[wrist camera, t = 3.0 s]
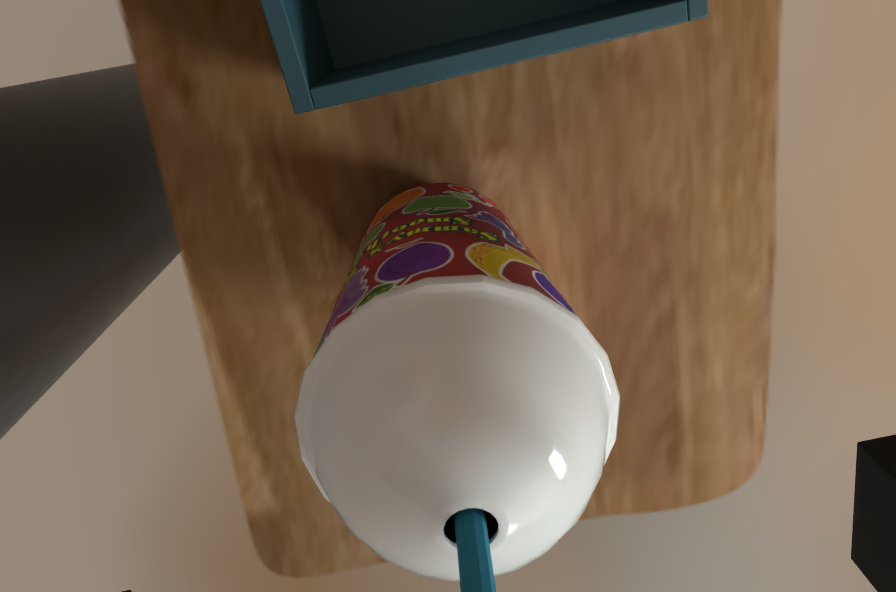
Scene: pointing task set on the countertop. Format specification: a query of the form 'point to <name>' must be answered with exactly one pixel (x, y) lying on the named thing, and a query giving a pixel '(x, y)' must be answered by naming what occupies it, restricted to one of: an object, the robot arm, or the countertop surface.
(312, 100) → the dark teal open box
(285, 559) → the countertop surface
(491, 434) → the smoothie
